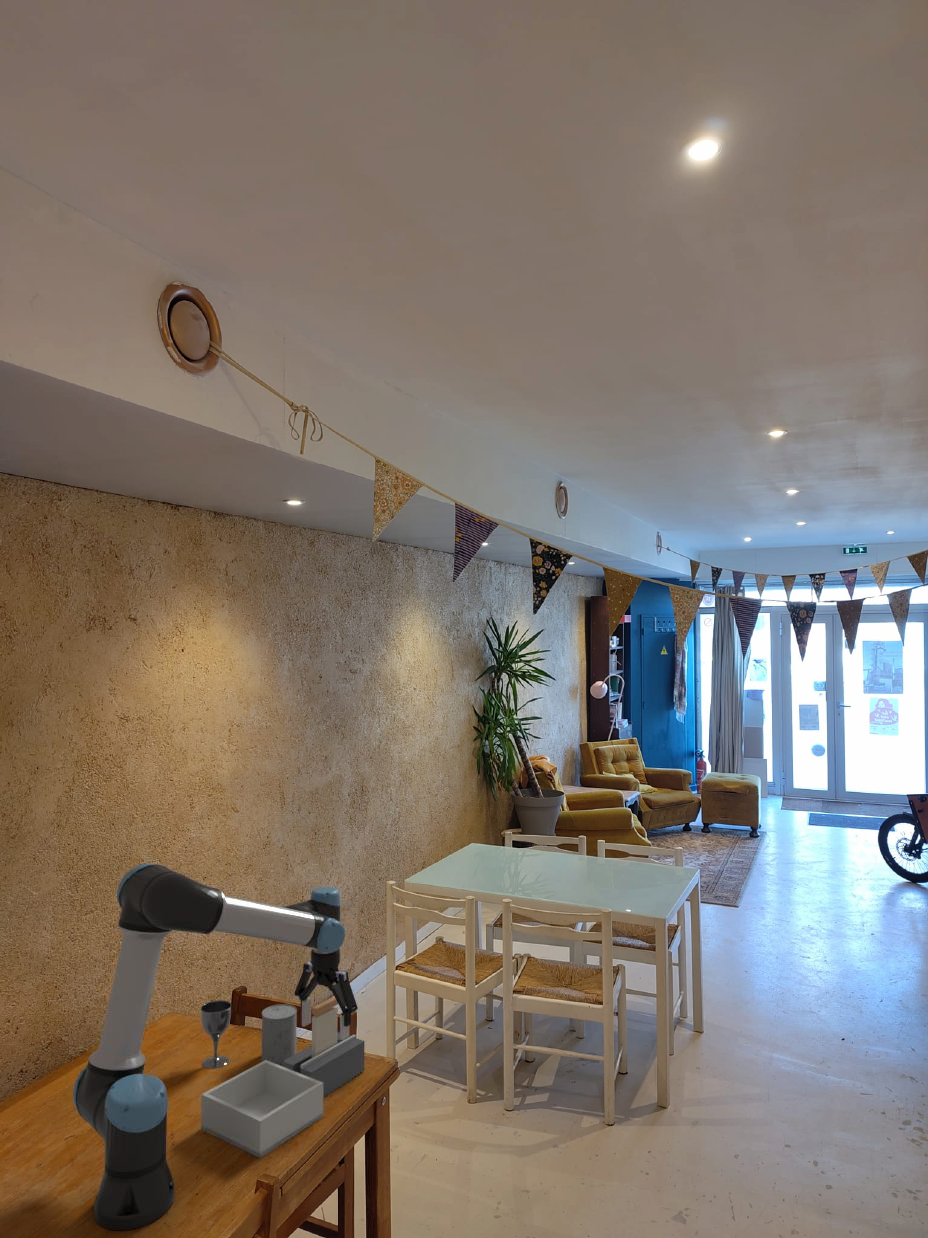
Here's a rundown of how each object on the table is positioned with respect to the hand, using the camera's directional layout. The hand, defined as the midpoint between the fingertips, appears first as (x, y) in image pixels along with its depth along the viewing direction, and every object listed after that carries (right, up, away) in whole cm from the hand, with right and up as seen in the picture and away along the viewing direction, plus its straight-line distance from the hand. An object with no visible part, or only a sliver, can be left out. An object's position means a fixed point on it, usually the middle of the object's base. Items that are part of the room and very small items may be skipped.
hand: (325, 1031), depth 217 cm
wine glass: (-32, -14, +10) cm, 36 cm away
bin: (-12, -12, -19) cm, 26 cm away
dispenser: (0, -13, -1) cm, 13 cm away
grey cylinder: (-15, -14, +13) cm, 24 cm away
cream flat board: (0, -9, 0) cm, 9 cm away
